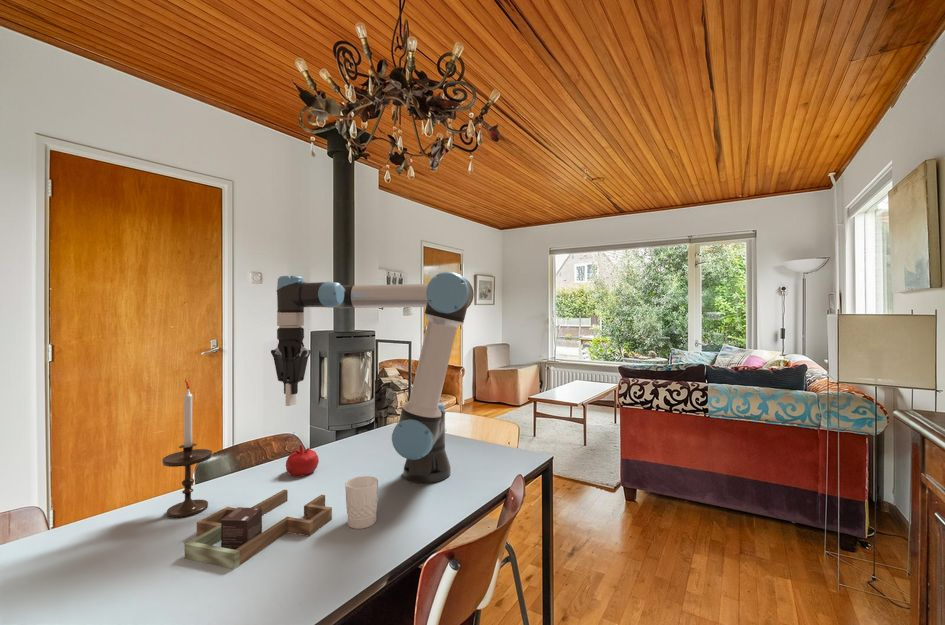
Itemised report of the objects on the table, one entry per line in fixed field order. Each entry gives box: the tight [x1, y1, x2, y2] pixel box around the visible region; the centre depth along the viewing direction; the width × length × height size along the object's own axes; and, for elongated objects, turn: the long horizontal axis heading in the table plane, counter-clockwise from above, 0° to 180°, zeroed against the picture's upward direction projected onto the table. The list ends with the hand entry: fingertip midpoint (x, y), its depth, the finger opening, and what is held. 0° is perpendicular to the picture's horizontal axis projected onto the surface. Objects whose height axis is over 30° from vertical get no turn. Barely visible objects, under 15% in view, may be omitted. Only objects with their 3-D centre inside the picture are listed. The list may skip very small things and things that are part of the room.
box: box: [220, 506, 263, 550], centre depth 93 cm, size 6×6×7 cm
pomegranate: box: [285, 444, 320, 477], centre depth 137 cm, size 10×10×9 cm
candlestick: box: [162, 378, 213, 519], centre depth 111 cm, size 11×11×35 cm
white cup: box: [344, 475, 379, 530], centre depth 104 cm, size 8×8×10 cm
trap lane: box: [183, 489, 333, 570], centre depth 100 cm, size 26×29×3 cm
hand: (290, 404), depth 127 cm, fingers closed
